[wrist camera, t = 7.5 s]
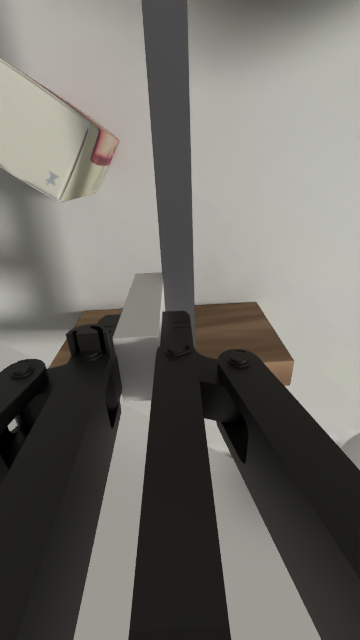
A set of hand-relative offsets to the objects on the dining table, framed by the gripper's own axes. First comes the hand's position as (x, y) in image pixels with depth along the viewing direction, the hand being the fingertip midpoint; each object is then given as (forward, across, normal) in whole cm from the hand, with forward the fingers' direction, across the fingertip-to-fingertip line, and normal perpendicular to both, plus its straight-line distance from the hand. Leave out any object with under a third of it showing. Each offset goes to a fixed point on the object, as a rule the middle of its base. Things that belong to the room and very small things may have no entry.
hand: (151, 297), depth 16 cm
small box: (+10, -5, +8) cm, 14 cm away
